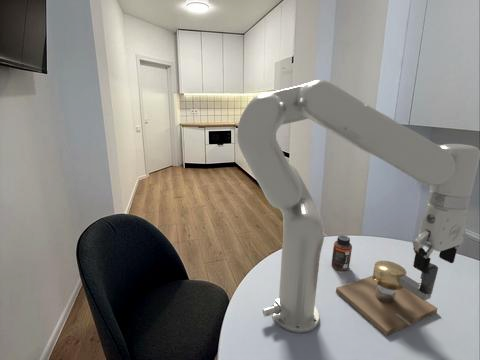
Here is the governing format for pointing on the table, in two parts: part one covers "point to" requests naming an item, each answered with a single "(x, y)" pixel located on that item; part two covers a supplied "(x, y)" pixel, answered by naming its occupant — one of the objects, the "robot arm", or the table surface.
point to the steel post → (385, 294)
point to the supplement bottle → (341, 253)
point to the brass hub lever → (404, 279)
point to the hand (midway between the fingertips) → (433, 265)
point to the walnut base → (385, 306)
